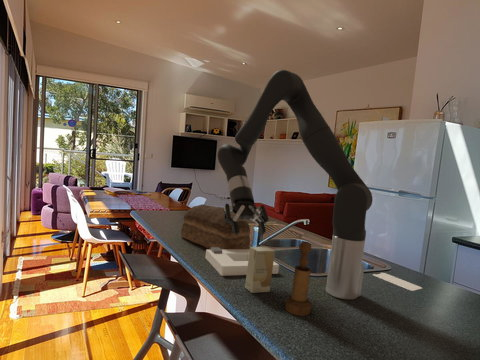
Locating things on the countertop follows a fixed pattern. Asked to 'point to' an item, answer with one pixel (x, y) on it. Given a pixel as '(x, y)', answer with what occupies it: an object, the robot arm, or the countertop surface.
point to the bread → (214, 228)
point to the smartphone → (397, 281)
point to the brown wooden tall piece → (300, 285)
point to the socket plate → (231, 261)
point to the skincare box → (259, 269)
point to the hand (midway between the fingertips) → (250, 234)
